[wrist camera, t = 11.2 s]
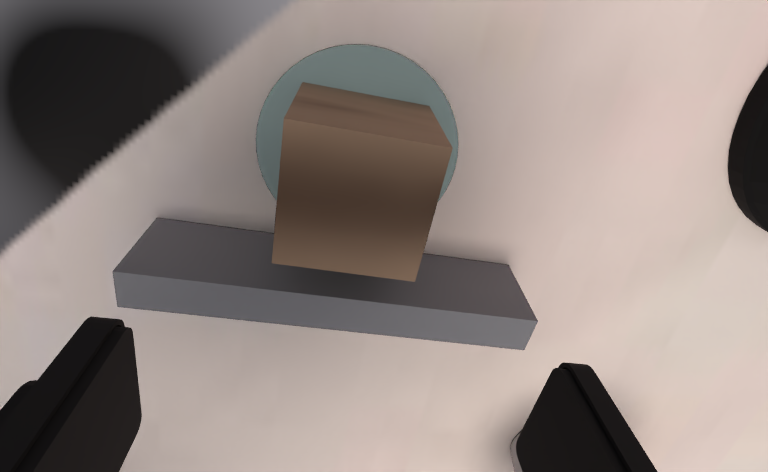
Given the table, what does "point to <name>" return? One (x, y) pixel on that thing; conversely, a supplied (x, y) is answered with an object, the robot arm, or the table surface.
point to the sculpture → (751, 155)
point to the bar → (319, 289)
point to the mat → (358, 74)
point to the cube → (357, 183)
